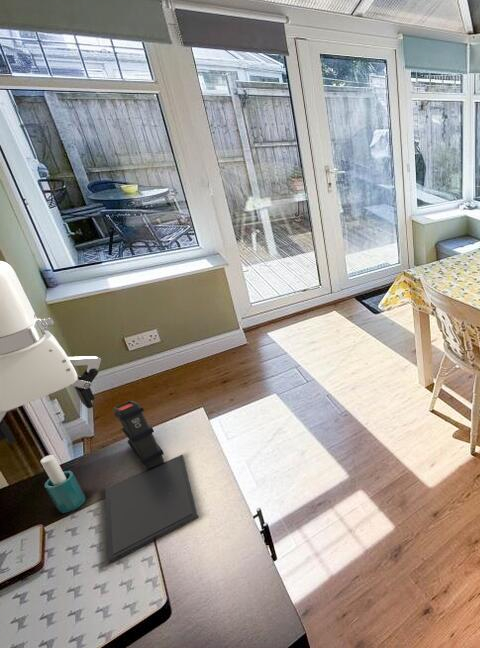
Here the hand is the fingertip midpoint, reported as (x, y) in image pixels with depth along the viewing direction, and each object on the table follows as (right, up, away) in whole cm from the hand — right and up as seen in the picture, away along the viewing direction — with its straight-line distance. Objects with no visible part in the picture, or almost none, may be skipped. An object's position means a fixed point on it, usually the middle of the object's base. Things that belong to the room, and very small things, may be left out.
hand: (51, 421), depth 71 cm
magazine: (-3, -16, +23) cm, 28 cm away
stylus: (-8, -20, +11) cm, 24 cm away
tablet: (+7, -21, +12) cm, 25 cm away
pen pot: (-8, -21, +11) cm, 25 cm away
